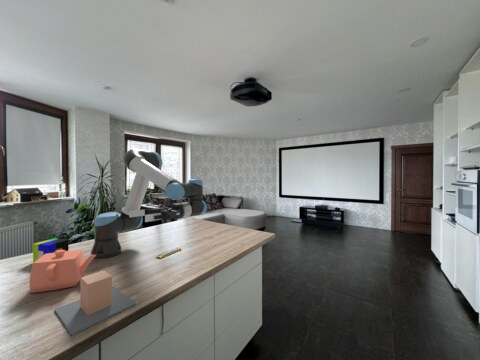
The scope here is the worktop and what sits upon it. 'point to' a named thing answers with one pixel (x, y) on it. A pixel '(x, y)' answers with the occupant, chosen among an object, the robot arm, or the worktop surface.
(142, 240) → the worktop surface
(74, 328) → the mat
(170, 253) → the candy bar
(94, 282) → the block
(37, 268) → the teapot
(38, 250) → the puzzle toy
